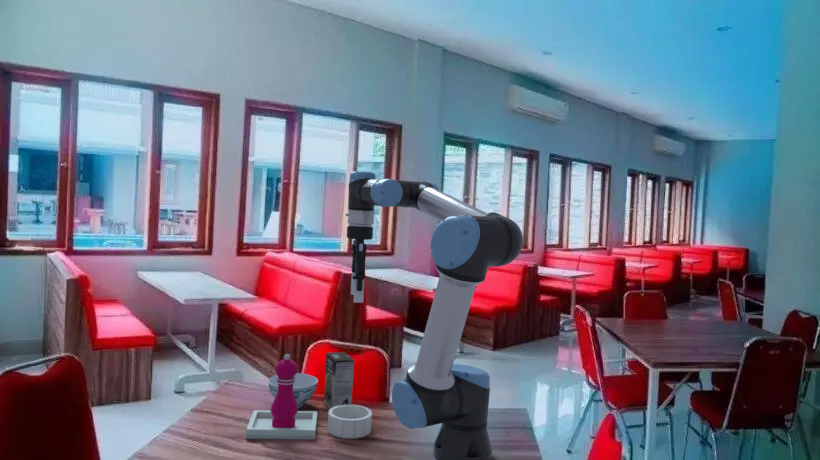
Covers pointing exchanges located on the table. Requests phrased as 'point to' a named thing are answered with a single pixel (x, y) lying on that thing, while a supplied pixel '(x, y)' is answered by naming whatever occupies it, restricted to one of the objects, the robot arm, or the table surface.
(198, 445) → the table surface
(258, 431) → the tray
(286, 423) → the pepper mill
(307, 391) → the chinaware
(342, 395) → the coffee box
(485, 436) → the robot arm
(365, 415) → the cup
